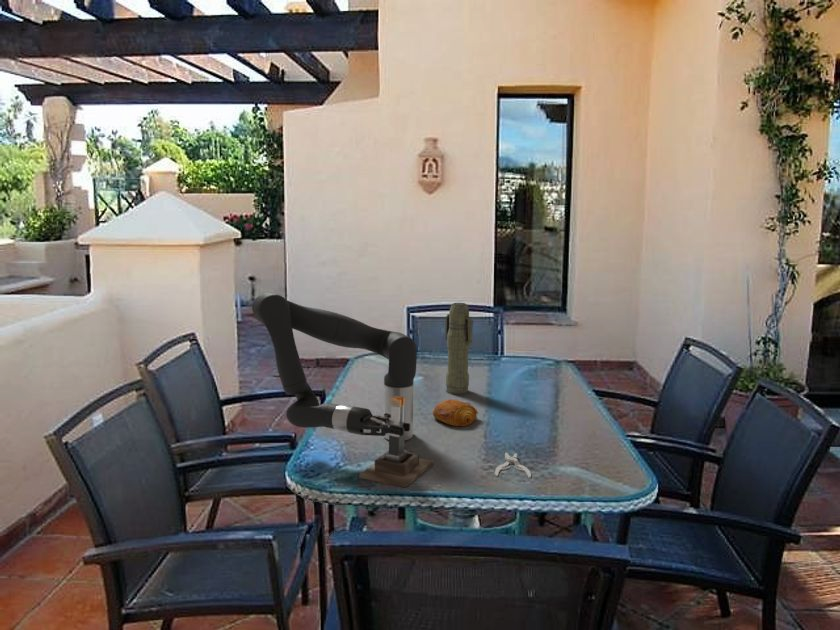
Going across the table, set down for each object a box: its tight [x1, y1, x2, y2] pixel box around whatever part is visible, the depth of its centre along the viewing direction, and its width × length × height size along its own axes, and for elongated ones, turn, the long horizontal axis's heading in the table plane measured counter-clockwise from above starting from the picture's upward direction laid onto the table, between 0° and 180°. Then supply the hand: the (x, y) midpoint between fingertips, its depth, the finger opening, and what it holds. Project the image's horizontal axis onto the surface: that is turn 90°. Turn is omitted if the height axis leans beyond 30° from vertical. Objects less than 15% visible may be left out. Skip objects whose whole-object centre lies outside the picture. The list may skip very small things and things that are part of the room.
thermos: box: [445, 302, 474, 395], centre depth 268 cm, size 9×12×35 cm
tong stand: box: [358, 450, 434, 488], centre depth 192 cm, size 18×14×4 cm
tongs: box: [385, 396, 408, 463], centre depth 190 cm, size 5×4×18 cm
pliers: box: [494, 452, 532, 479], centre depth 196 cm, size 10×2×15 cm
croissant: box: [432, 398, 479, 427], centre depth 236 cm, size 14×16×8 cm
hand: (406, 429), depth 189 cm, fingers closed on tongs, 3 cm apart
